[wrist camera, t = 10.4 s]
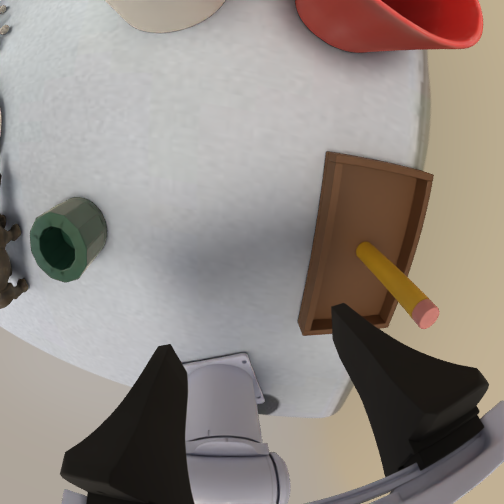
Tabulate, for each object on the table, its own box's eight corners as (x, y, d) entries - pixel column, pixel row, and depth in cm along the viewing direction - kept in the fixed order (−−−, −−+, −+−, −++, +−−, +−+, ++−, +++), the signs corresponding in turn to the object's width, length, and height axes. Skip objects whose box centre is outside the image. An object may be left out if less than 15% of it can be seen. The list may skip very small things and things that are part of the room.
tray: (379, 315, 26) (387, 327, 24) (297, 321, 25) (302, 336, 23) (419, 170, 19) (434, 174, 18) (325, 151, 18) (336, 153, 16)
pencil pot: (116, 248, 20) (98, 273, 16) (70, 263, 20) (49, 287, 16) (93, 187, 17) (68, 202, 14) (47, 209, 17) (20, 226, 14)
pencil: (372, 255, 22) (437, 323, 13) (356, 260, 22) (417, 333, 13) (371, 239, 21) (442, 304, 13) (355, 243, 21) (422, 313, 13)
